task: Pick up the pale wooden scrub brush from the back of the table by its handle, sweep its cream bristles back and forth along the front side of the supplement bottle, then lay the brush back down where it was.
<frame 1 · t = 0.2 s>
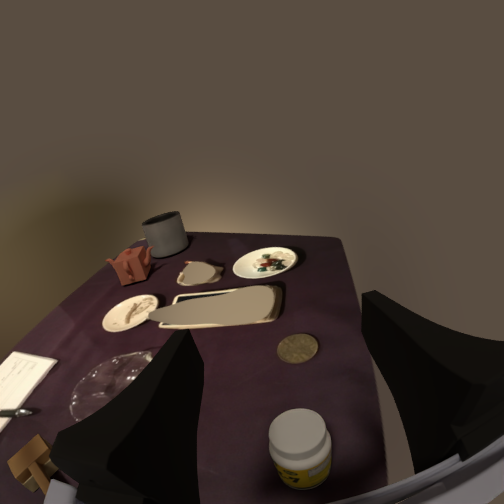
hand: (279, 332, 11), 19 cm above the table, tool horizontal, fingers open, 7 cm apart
brush: (43, 470, 19), on the table
planter: (170, 251, 87), on the table
teapot: (138, 278, 72), on the table
supplement bottle: (305, 470, 20), on the table
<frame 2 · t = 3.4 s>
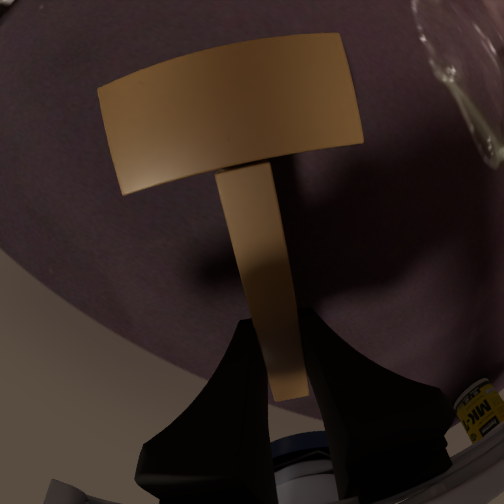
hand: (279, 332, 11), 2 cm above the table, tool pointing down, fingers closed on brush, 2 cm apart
brush: (231, 113, 10), on the table, touching gripper
supplement bottle: (469, 392, 19), on the table
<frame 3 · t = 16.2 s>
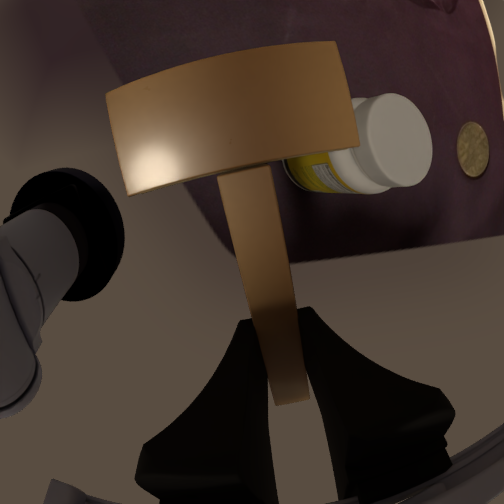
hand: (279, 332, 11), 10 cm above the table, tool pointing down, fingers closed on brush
brush: (233, 120, 11), point 6 cm above the table, tilted 8°, touching gripper
supplement bottle: (311, 157, 18), on the table
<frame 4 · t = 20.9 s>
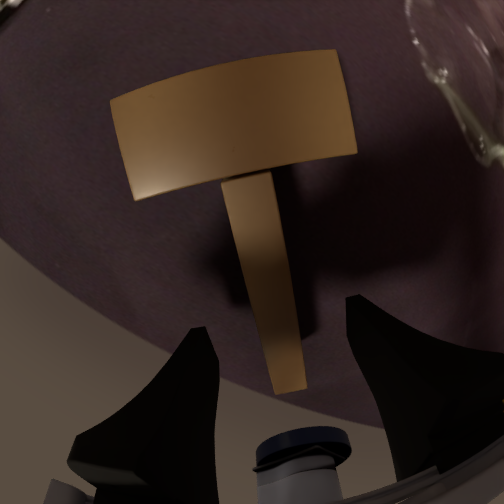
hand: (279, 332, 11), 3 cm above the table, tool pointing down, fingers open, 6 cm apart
brush: (234, 123, 11), on the table
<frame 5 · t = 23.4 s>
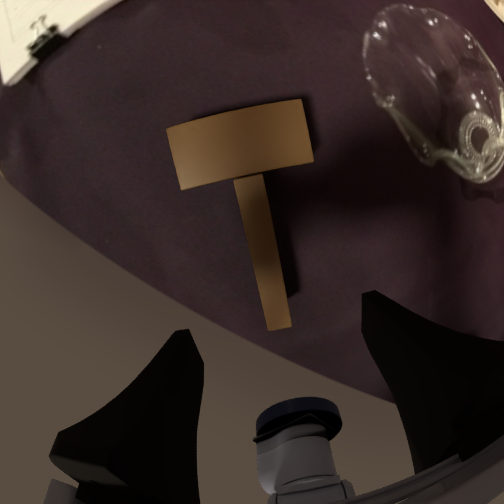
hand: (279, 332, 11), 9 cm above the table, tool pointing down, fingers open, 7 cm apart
brush: (240, 143, 17), on the table
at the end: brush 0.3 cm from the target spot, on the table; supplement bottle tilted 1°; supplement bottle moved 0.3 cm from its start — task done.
